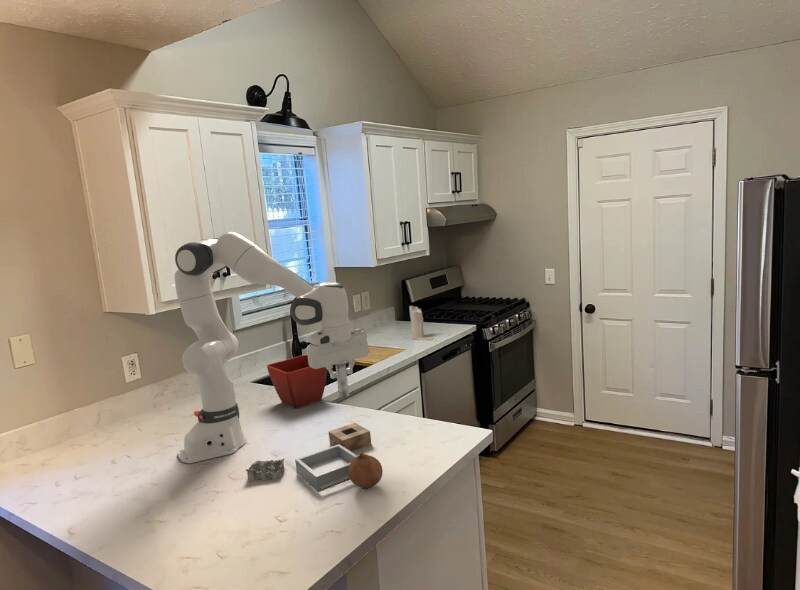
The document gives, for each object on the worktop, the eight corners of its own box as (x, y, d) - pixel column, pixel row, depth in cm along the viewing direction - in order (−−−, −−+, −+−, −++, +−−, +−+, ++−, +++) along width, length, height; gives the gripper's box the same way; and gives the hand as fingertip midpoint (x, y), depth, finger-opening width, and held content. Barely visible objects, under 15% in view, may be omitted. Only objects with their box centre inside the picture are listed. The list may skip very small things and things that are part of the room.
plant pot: (291, 413, 214) (286, 372, 212) (270, 403, 229) (265, 364, 227) (332, 400, 226) (328, 361, 223) (310, 391, 241) (305, 354, 238)
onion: (344, 486, 152) (341, 453, 151) (374, 476, 157) (371, 443, 155) (359, 500, 144) (355, 465, 142) (390, 489, 148) (386, 454, 147)
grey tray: (318, 492, 150) (316, 477, 150) (296, 473, 163) (295, 459, 162) (364, 474, 158) (363, 459, 158) (341, 457, 171) (339, 444, 170)
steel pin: (340, 399, 170) (336, 362, 168) (333, 395, 174) (329, 359, 172) (354, 395, 172) (350, 359, 170) (347, 391, 176) (343, 356, 174)
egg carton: (245, 483, 160) (243, 470, 160) (253, 470, 168) (252, 458, 167) (280, 480, 159) (278, 467, 159) (287, 468, 167) (285, 456, 166)
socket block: (344, 458, 170) (342, 440, 169) (330, 448, 178) (328, 431, 177) (371, 448, 175) (370, 431, 174) (356, 439, 184) (355, 422, 183)
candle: (430, 340, 314) (427, 306, 311) (409, 339, 321) (407, 306, 318) (436, 337, 320) (433, 304, 317) (415, 336, 327) (412, 304, 324)
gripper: (360, 325, 178) (364, 366, 180) (303, 338, 167) (308, 381, 169) (370, 328, 173) (374, 370, 175) (312, 341, 162) (317, 385, 164)
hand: (341, 375), depth 172 cm, fingers closed on steel pin, 4 cm apart
